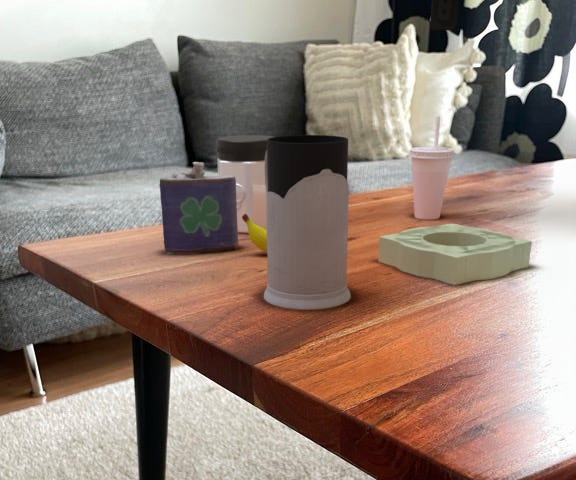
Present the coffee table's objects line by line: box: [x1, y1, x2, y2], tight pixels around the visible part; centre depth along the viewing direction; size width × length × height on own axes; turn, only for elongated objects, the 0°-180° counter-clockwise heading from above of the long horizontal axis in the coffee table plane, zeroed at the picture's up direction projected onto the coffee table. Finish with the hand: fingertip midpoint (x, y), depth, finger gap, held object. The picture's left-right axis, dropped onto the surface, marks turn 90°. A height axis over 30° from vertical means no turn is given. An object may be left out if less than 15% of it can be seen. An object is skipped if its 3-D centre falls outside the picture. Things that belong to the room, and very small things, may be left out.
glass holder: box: [263, 134, 352, 311], centre depth 71 cm, size 9×14×15 cm, turn 24°
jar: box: [216, 134, 273, 234], centre depth 99 cm, size 9×8×12 cm
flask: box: [158, 161, 239, 255], centre depth 87 cm, size 9×3×11 cm, turn 103°
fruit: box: [242, 214, 267, 253], centre depth 86 cm, size 10×2×5 cm, turn 88°
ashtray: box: [377, 222, 533, 286], centre depth 82 cm, size 13×13×3 cm
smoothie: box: [408, 116, 455, 220], centre depth 104 cm, size 6×6×14 cm
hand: (442, 29), depth 96 cm, fingers open, 9 cm apart
